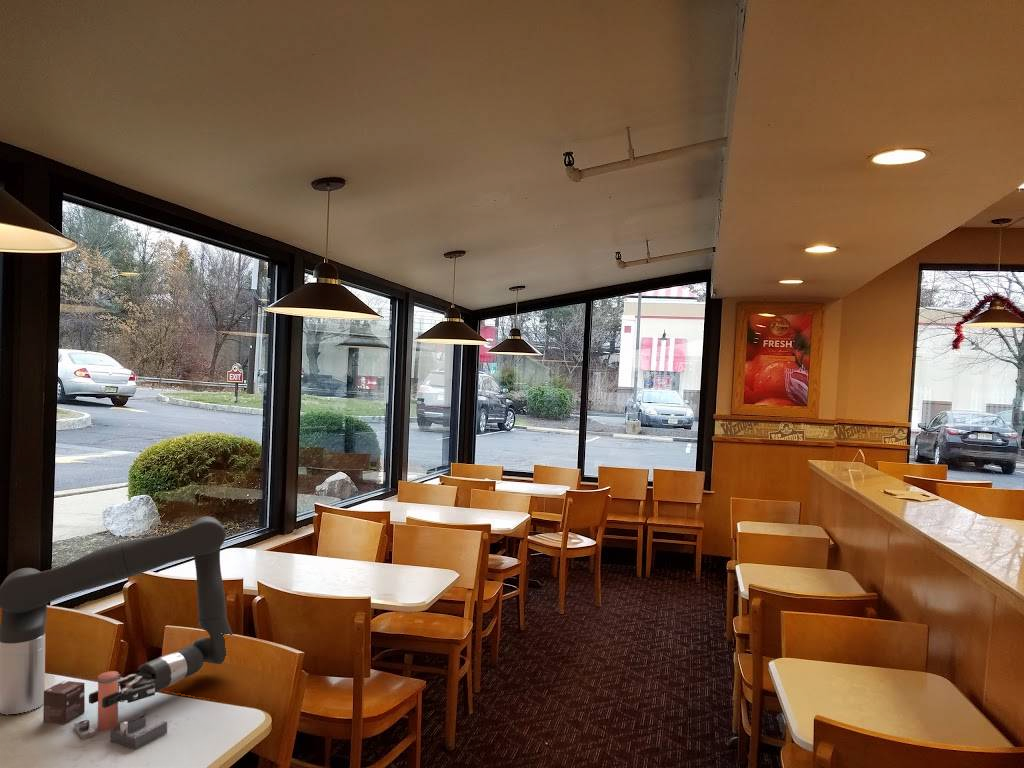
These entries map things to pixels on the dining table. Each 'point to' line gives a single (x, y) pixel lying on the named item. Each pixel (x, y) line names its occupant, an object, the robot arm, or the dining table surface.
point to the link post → (105, 688)
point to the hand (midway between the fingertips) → (96, 701)
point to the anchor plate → (84, 729)
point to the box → (64, 702)
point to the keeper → (132, 741)
